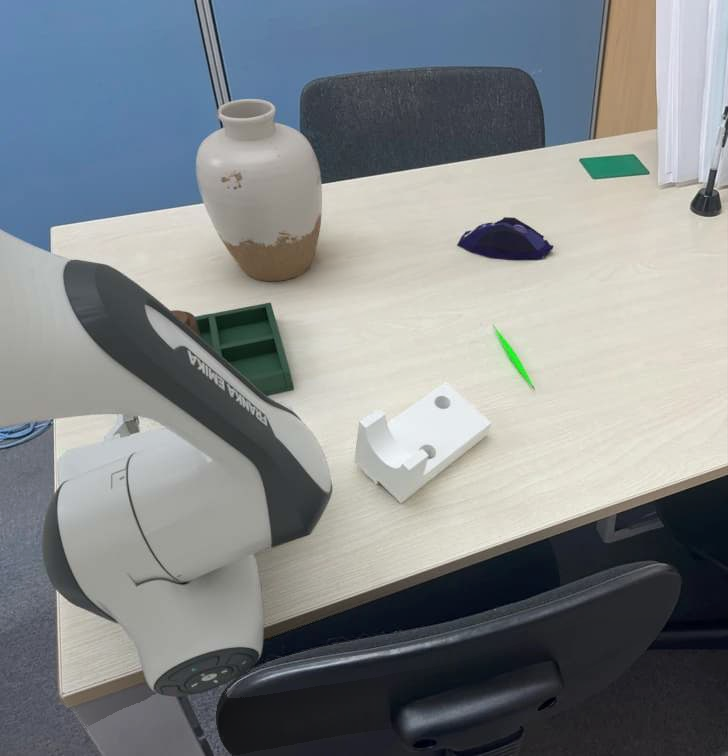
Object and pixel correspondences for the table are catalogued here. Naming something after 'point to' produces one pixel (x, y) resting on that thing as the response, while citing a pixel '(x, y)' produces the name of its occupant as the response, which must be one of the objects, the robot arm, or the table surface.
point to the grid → (250, 345)
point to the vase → (261, 190)
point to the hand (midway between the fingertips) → (180, 403)
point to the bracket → (418, 440)
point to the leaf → (513, 357)
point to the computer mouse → (506, 241)
